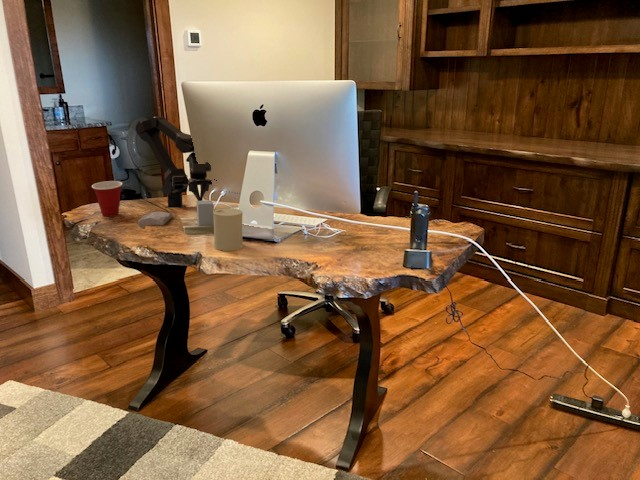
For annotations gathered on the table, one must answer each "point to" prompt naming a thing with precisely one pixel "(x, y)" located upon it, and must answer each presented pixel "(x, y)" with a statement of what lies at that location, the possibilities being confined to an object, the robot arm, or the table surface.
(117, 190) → the plastic cup
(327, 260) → the table surface
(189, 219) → the trap board
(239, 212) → the can
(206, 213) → the slate block
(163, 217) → the stone block
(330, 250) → the table surface
